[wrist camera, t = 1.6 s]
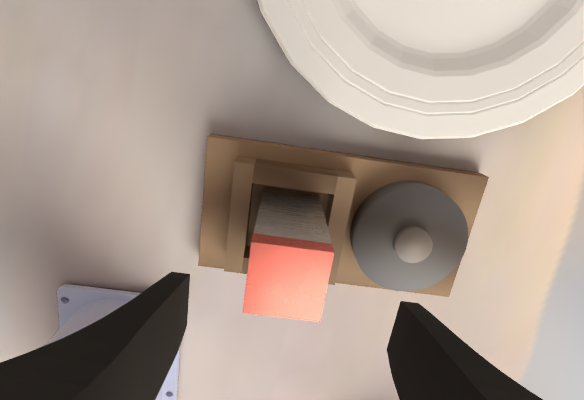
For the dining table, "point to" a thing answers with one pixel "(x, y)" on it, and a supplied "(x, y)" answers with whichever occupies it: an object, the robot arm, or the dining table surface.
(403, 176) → the board
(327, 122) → the dining table surface
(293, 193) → the pin
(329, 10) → the plate
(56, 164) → the dining table surface
